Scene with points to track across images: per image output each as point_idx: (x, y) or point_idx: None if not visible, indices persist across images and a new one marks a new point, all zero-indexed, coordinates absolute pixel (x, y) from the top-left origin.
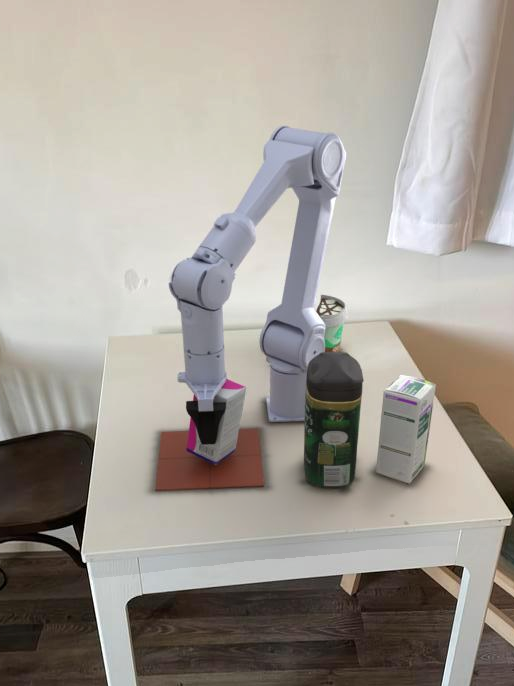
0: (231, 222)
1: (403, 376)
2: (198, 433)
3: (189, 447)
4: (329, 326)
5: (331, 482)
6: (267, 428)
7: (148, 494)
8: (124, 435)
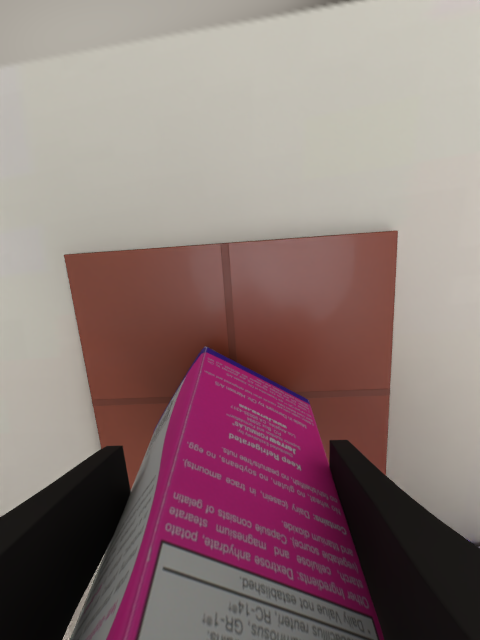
0: None
1: None
2: (50, 485)
3: (194, 365)
4: None
5: None
6: None
7: (50, 236)
8: (396, 83)
